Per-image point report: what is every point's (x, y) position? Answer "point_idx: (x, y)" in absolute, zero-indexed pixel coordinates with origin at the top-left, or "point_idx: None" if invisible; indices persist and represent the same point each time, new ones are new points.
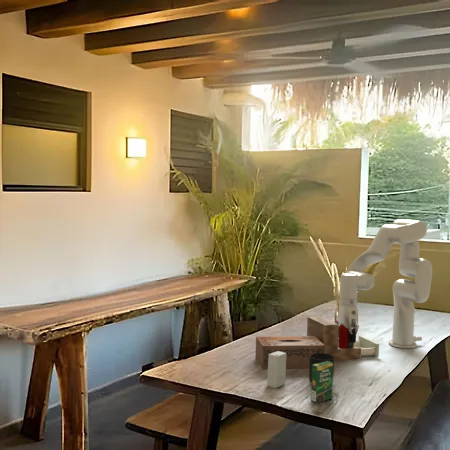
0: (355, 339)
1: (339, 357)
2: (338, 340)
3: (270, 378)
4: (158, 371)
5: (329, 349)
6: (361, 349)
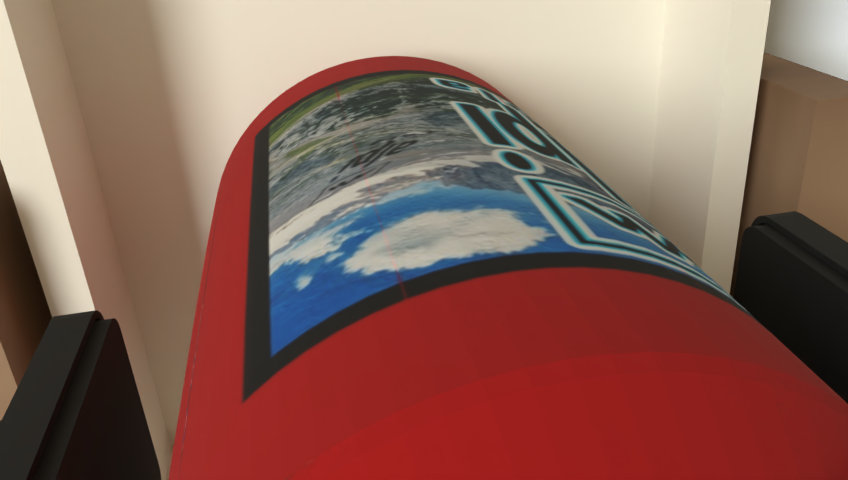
0: (844, 258)
1: None
2: (6, 336)
3: None
4: None
5: None
6: (762, 9)
